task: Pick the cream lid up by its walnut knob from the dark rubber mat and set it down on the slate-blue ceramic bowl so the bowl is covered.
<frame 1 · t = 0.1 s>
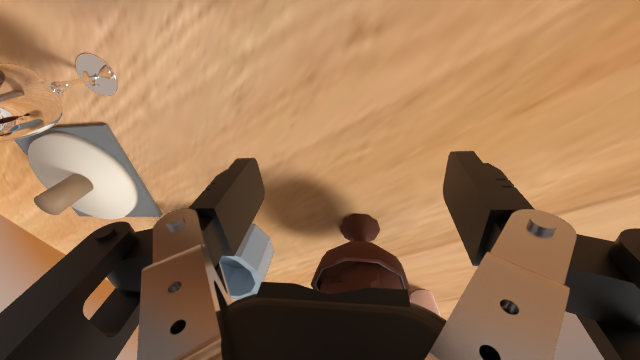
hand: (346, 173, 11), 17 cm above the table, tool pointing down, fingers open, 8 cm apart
smoothie: (421, 295, 44), on the table
bowl: (236, 244, 42), on the table
lid: (89, 177, 37), point 1 cm above the table, touching mat
ice cream bowl: (359, 227, 37), on the table
wineglass: (98, 75, 29), on the table
mat: (93, 175, 37), on the table
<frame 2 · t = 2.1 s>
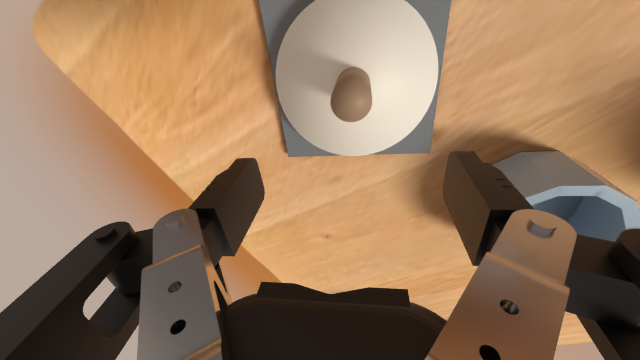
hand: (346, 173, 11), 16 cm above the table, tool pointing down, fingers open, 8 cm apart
bowl: (520, 199, 29), on the table
lid: (353, 82, 24), point 1 cm above the table, touching mat
mat: (353, 80, 24), on the table
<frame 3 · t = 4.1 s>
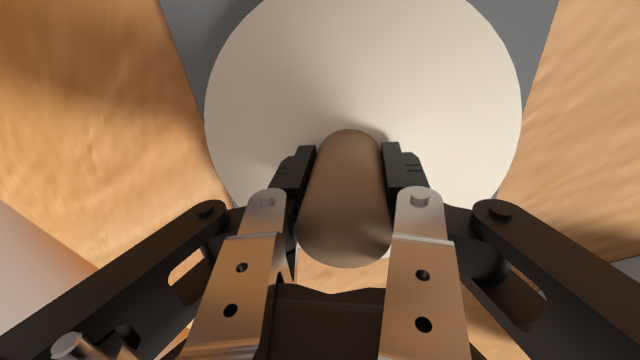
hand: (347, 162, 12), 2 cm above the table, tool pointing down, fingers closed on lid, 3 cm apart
bowl: (618, 315, 18), on the table
lid: (349, 147, 13), point 1 cm above the table, touching gripper, mat
mat: (349, 142, 14), on the table
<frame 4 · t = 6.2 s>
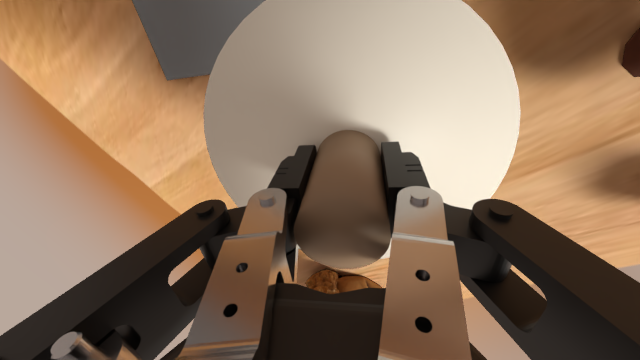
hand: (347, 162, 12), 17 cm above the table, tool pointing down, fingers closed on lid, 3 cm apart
stuffed squirrel: (341, 281, 45), on the table
lid: (349, 148, 13), point 16 cm above the table, touching gripper
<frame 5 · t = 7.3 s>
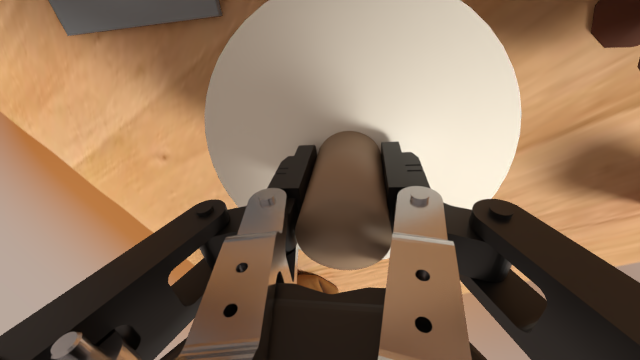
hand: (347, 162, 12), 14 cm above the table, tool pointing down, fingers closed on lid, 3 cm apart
stuffed squirrel: (294, 280, 41), on the table
lid: (349, 149, 13), point 12 cm above the table, touching gripper
ice cream bowl: (637, 4, 18), on the table
when the fingers open (9 cm above the table, at t = 8.4 s): lid drops 2 cm, resting on bowl.
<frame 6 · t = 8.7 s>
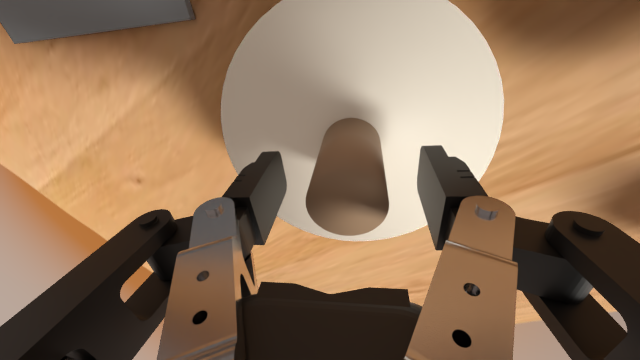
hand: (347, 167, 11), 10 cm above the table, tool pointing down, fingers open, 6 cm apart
lid: (351, 136, 14), point 6 cm above the table, touching bowl
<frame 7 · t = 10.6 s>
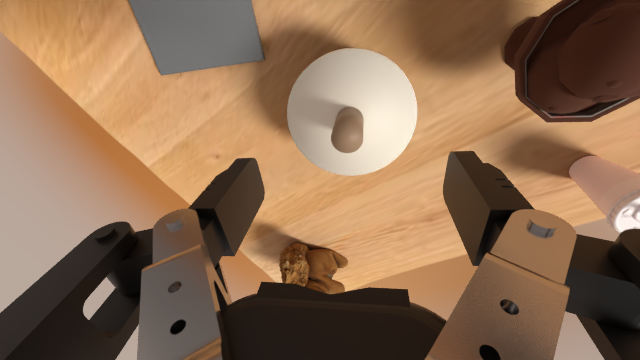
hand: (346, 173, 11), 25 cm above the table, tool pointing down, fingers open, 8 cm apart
smoothie: (584, 167, 34), on the table
stuffed squirrel: (312, 255, 52), on the table
lid: (350, 116, 29), point 6 cm above the table, touching bowl
ice cream bowl: (532, 45, 28), on the table
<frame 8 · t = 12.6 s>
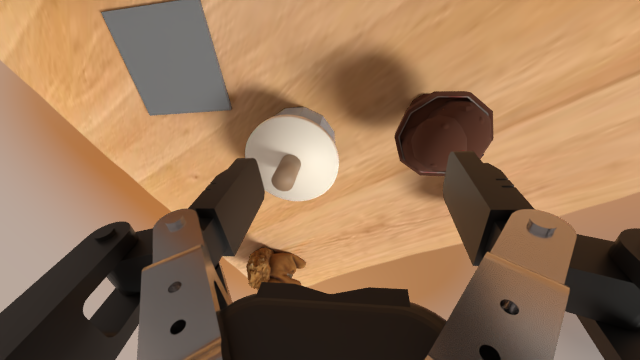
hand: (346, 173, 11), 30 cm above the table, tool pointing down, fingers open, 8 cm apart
stuffed squirrel: (277, 257, 62), on the table
bowl: (300, 142, 44), on the table
lid: (292, 159, 39), point 6 cm above the table, touching bowl
ice cream bowl: (426, 111, 39), on the table
mat: (172, 63, 40), on the table
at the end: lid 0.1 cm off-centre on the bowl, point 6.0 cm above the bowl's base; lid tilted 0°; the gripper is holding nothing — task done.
